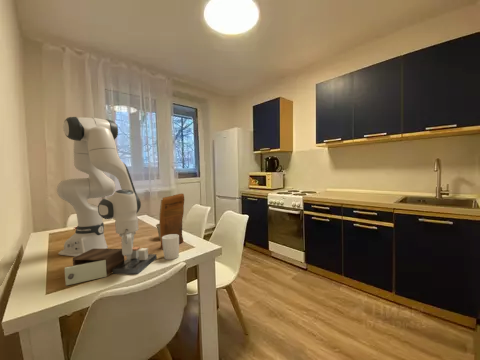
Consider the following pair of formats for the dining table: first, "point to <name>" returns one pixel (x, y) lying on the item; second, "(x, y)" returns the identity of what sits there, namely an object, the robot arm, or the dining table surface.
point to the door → (85, 272)
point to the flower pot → (158, 229)
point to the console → (133, 265)
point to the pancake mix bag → (171, 216)
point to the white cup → (170, 246)
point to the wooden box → (101, 258)
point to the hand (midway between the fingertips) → (129, 258)
